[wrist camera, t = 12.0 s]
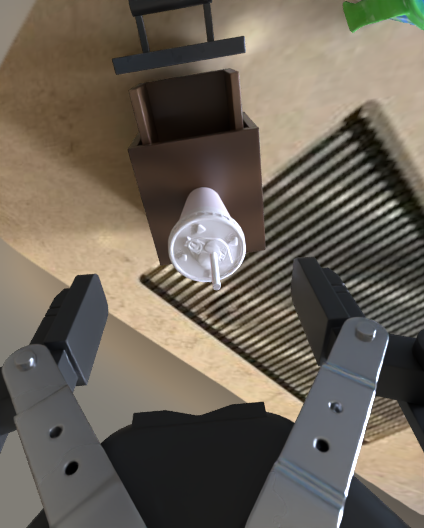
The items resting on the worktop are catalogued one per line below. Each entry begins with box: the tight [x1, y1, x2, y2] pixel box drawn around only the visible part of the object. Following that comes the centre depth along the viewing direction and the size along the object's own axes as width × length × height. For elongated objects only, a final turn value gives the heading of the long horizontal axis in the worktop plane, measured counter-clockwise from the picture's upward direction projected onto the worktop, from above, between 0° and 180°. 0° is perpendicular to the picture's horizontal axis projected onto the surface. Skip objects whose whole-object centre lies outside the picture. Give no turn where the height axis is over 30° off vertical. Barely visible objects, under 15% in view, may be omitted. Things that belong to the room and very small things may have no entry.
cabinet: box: [128, 112, 266, 265], centre depth 38 cm, size 14×13×10 cm
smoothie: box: [168, 187, 246, 290], centre depth 28 cm, size 6×6×14 cm
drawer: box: [112, 0, 246, 145], centre depth 32 cm, size 17×11×8 cm
